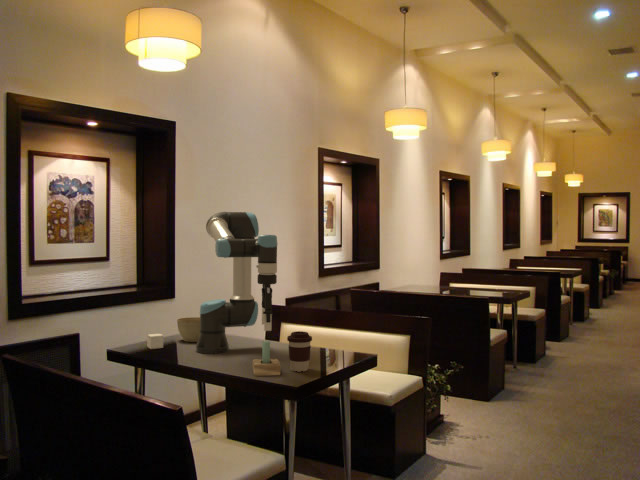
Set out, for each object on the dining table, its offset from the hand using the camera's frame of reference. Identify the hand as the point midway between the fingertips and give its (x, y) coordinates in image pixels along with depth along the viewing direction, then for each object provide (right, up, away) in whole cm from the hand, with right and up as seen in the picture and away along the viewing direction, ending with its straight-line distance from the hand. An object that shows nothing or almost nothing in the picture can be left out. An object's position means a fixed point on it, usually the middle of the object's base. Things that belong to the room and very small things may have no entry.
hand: (266, 327), depth 222 cm
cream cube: (-57, -17, +46) cm, 75 cm away
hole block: (0, -18, 0) cm, 18 cm away
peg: (0, -18, 0) cm, 18 cm away
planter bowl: (-43, -17, +63) cm, 79 cm away
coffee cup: (+13, -18, +4) cm, 23 cm away
